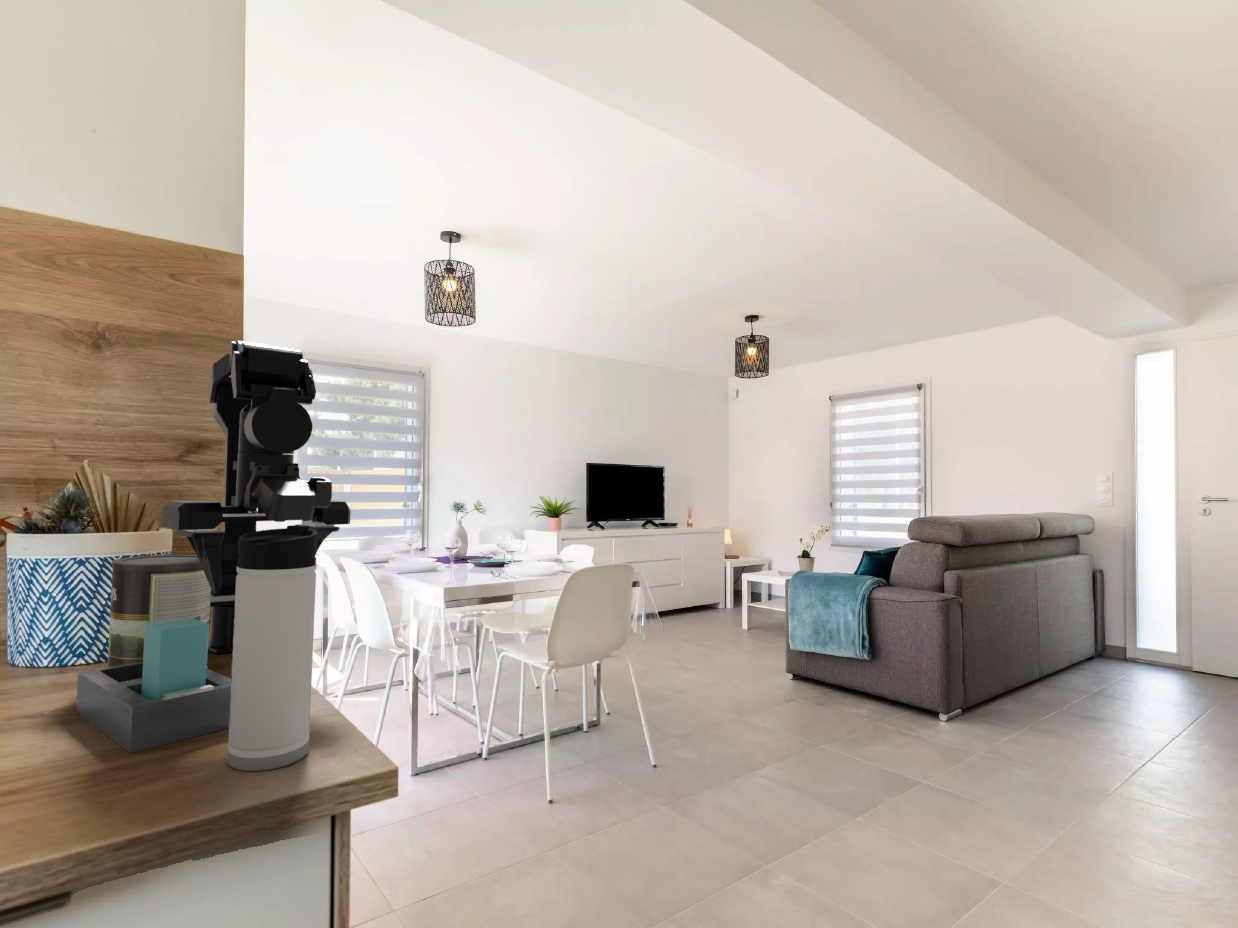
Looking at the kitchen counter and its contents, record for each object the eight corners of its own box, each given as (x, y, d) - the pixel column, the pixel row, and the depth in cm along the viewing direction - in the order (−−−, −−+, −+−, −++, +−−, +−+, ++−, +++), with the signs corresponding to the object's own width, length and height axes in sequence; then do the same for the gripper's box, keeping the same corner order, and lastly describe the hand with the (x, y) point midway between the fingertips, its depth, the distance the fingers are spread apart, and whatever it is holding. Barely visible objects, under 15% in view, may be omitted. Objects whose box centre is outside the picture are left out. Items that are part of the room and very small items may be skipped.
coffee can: (90, 690, 73) (97, 564, 74) (123, 666, 83) (129, 554, 83) (197, 683, 77) (203, 563, 77) (216, 660, 87) (221, 553, 87)
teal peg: (139, 728, 63) (145, 623, 63) (186, 717, 66) (191, 617, 66) (155, 739, 60) (161, 630, 61) (203, 727, 64) (208, 623, 64)
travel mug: (324, 743, 60) (333, 526, 61) (280, 774, 54) (291, 531, 54) (260, 739, 61) (270, 524, 62) (209, 769, 54) (221, 528, 55)
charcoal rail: (75, 711, 67) (78, 668, 67) (176, 690, 74) (178, 652, 74) (130, 753, 57) (132, 703, 57) (239, 724, 64) (241, 680, 64)
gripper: (203, 449, 64) (195, 610, 64) (377, 458, 78) (371, 588, 78) (163, 449, 71) (155, 593, 70) (330, 457, 85) (324, 576, 85)
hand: (259, 587), depth 76 cm, fingers open, 9 cm apart
